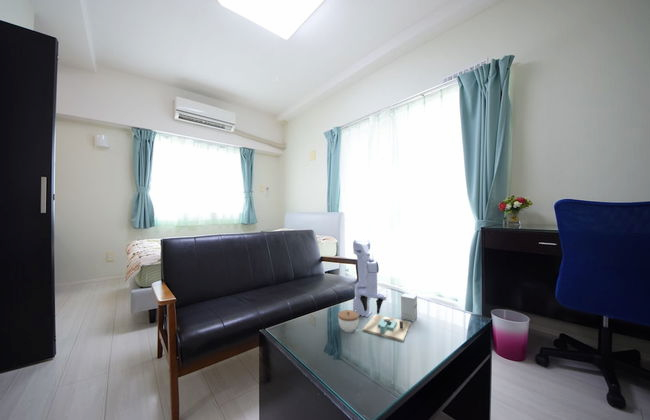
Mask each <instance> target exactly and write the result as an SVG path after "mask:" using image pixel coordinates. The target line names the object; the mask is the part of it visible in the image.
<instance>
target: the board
mask: <svg viewBox="0 0 650 420" xmlns="http://www.w3.org/2000/svg"><path fill="white" fill-rule="evenodd" d="M381 319H385V320H384V322H387V325H391V324H390V320H391V321H396V322H397V325H396V326H395V328H394V330H389V329H387V330H386V332H385V334H383V333H380V327H378V323H379V322H380V320H381ZM411 322H412V321H407V320H404V319H403V320H402V319H397V318H393V317H388V316H383V315H380V314H373V316H372V317H371V318H370V319H369V321H368V322H367V323H366V324H365V326H364V327H363V328H362V332H365V333H369V334H373V335H376V336H379V337H383V338H387V339H391V340H395V341H400V342H404V341H405V339H406V336H407V334H408V332H409V329H410V327H411V324H412V323H411Z"/></svg>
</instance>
